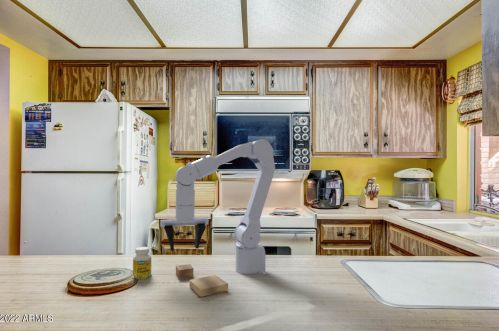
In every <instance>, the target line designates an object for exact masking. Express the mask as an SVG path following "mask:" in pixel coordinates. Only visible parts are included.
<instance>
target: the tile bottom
mask: <svg viewBox="0 0 499 331" xmlns="http://www.w3.org/2000/svg"><path fill="white" fill-rule="evenodd" d="M193 292H194V294H195V295H196V297H197V298H202V297H203V298H204V297H210V296H215V295H222V294H227V293H228V290H227V291H223V292H219V293H215V294H210V295H206V296H202V297H200V296H199V295H198V294H197V293H196V292H195V291H194V290H193Z"/></svg>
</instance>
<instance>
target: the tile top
mask: <svg viewBox="0 0 499 331" xmlns="http://www.w3.org/2000/svg"><path fill="white" fill-rule="evenodd" d="M189 288H191V289H192V291H193V292H194V291H195V292H196V293H197V294H198V295H199V296H200V297H199V298H202V296H204V297H207V296H206V295H210V294H215V293H219V292H223V291H227V292H228V291H229V283H228V282H227V281H225V280H224V279H222V278H221V277H219V276H218V275H216V274H213V275H208V276H204V277H198V278H191V279H189ZM195 292H194V293H195ZM210 296H211V295H210Z"/></svg>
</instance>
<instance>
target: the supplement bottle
mask: <svg viewBox="0 0 499 331" xmlns="http://www.w3.org/2000/svg"><path fill="white" fill-rule="evenodd" d="M134 252H135V254H134V256H133V257H132V277H133V276H134V277H135V278H136V279H135V280H145V279H149V278H150V277H151V276H152V255H151V254H150V247H149V246H139V247H136V248H135V251H134Z"/></svg>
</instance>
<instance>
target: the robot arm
mask: <svg viewBox="0 0 499 331" xmlns="http://www.w3.org/2000/svg"><path fill="white" fill-rule="evenodd" d="M270 143H271V142H269V141H268V140H266V139H263V138H262V139H257V140H254V141H249V142H246V143H242V144H238V145H236V146H234V147H233V148H230V149H228V150H226V151H224V152H222V153H221V154H218V155H216V156H212V155H210V154H208V155H206V154H204V155H201V156H200V159H198V160H197V159H196V160H195V161H193V162H191V161H189V162H187V165H183V166H181V167H179V168H178V169H177V170H176V173H175V175H174V178H175V180H176V185H175V186H176V191H175V218H167V219H160V221H159V222H160V228H163V229H164V231H165V234H166V236H167V240H168V243H169V249H170V252H173V251H174V250H175V242H174V238H175V229H174V227H182V226H194V234H195V235H194V237H195V238H194V248H195V249H200V245H201V244H200V243H201V240H202V237H203V235H204V233H205V231H206V229H207V226H208V225H209V218H208V217H195V207H196V205H195V204H196V203H195V202H196V201H195V197H196V196H195V192H196V191H195V182H196V181H197V180H201V179H203V178H205V177H207V176H209V175H212V174H214V173H216V172H217V170H219V169H218V168H219V167H220V166H221V165H224V164H227V163H229V162H231V161H233V160H235V159H238V158H241V157H242V158H248V159H249V160H250V161H252V162H253V163H254V165H255V167H256V168H257V169H258V172H257V175H256V177H255V182H254V185H253V187H252V191H251V193H250V198H249V200H248V203H247V206H246V210H245V212H244V215H243V217H241V219H240V222H239V223H238V225H237V226H236V227H235V229H234V231H233V234H234V238H235V239H236V244H235V272H236V273H238V274H241V275H252V274H257V273H260V274H261V275H263V276H265V275H267V272H266V249H265V247H264V246H263V245H262V244H259V243H260V241H261V228H262V226H261V217H262V213H263V210H264V207H265V203H266V201H267V199H268V198H267V197H268V194H269V190H270V187H271V185H272V181H273V178H274V174H275V171H276V165H275V158H274V148H273V147H272V144H270Z"/></svg>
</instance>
